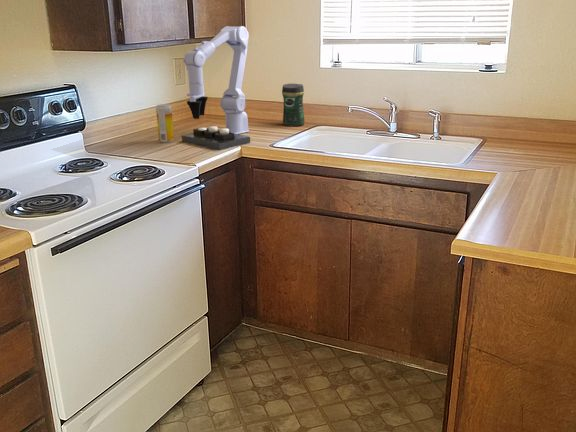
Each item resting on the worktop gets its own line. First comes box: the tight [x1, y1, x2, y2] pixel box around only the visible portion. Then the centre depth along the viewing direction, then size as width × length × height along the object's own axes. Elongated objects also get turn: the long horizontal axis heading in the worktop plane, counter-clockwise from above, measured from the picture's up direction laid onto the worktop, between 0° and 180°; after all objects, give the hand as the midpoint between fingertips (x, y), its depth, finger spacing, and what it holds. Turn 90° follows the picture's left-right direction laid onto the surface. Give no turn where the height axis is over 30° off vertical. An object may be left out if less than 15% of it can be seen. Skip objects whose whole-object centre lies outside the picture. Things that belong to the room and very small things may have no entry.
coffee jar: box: [281, 83, 305, 127], centre depth 265 cm, size 10×8×19 cm
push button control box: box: [181, 127, 251, 151], centre depth 237 cm, size 16×26×5 cm, turn 46°
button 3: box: [219, 127, 229, 135], centre depth 230 cm, size 4×4×2 cm
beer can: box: [155, 103, 175, 144], centre depth 237 cm, size 6×6×15 cm
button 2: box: [207, 125, 219, 133], centre depth 234 cm, size 4×4×2 cm
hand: (198, 116), depth 235 cm, fingers open, 7 cm apart
